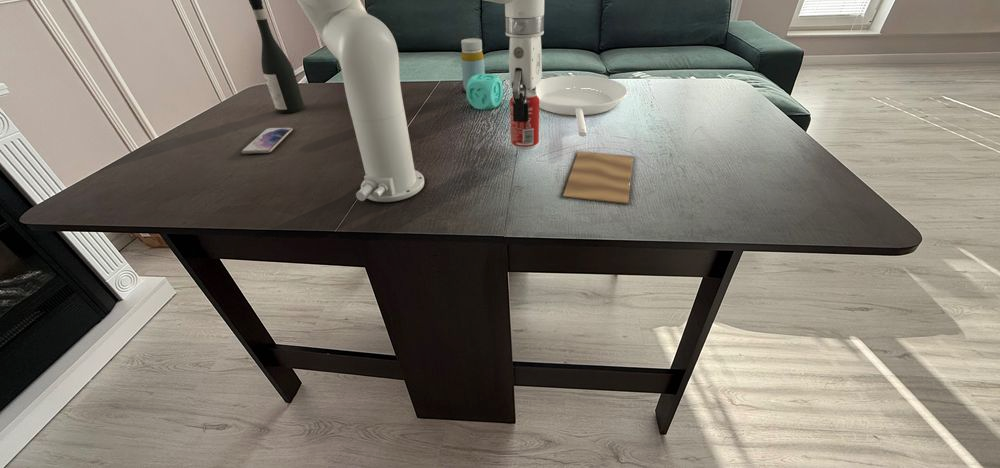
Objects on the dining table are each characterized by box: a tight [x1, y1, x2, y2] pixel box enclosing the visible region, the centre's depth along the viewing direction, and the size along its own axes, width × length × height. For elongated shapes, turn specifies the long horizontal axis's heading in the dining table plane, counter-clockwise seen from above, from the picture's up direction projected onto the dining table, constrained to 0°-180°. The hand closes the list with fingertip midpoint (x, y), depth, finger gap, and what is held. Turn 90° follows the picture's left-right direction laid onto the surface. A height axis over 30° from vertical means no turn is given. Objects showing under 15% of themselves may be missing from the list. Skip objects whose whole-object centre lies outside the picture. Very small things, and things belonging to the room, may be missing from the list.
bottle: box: [460, 37, 486, 92], centre depth 133 cm, size 7×7×15 cm
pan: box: [535, 74, 629, 138], centre depth 116 cm, size 28×44×4 cm, turn 175°
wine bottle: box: [248, 0, 305, 114], centre depth 119 cm, size 8×8×30 cm
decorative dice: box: [465, 73, 504, 111], centre depth 123 cm, size 8×8×8 cm
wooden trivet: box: [562, 151, 634, 205], centre depth 87 cm, size 20×12×1 cm, turn 163°
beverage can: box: [509, 90, 540, 151], centre depth 94 cm, size 6×6×12 cm
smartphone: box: [241, 126, 293, 155], centre depth 108 cm, size 7×1×15 cm
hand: (524, 114), depth 93 cm, fingers closed on beverage can, 6 cm apart
